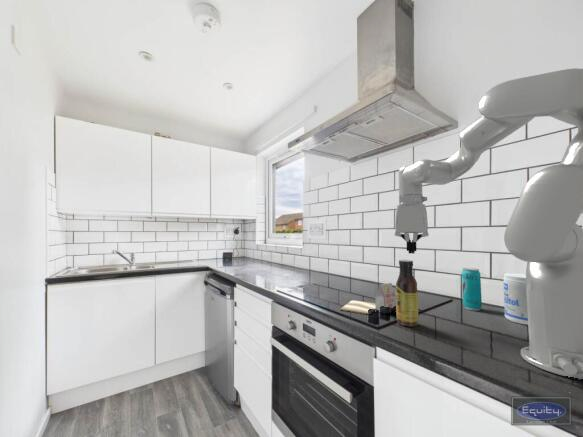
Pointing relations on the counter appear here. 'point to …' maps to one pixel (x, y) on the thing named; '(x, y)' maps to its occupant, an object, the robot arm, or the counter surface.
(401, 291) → the sauce bottle
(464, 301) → the beverage can
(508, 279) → the supplement tub
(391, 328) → the counter surface
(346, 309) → the cream folded towel
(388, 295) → the tea bag
